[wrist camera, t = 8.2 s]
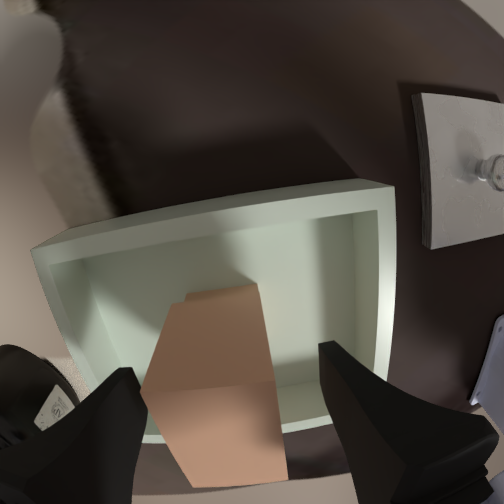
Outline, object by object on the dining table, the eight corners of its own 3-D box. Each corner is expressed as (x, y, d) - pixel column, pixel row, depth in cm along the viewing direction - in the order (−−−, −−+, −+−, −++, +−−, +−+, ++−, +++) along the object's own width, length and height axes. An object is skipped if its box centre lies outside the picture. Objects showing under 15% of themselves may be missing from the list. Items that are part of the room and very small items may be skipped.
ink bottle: (71, 443, 19) (31, 549, 8) (-9, 386, 17) (-70, 476, 6) (101, 389, 17) (41, 542, 6) (0, 314, 15) (-104, 423, 4)
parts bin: (361, 372, 18) (381, 409, 14) (134, 403, 17) (121, 442, 14) (359, 178, 14) (394, 186, 11) (67, 229, 14) (30, 249, 10)
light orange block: (254, 265, 14) (275, 379, 7) (267, 355, 16) (288, 479, 8) (182, 276, 14) (139, 391, 7) (205, 363, 16) (192, 487, 8)
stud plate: (508, 226, 15) (543, 241, 12) (421, 244, 15) (459, 266, 12) (503, 106, 13) (541, 105, 9) (411, 95, 13) (451, 85, 9)
